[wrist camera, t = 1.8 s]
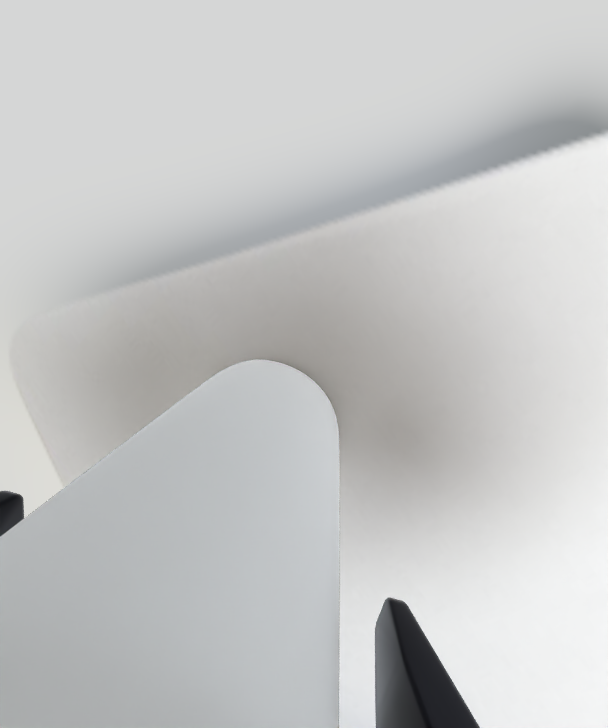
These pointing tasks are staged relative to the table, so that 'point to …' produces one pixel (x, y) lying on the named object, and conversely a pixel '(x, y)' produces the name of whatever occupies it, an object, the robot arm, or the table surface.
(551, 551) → the table surface
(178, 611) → the can
